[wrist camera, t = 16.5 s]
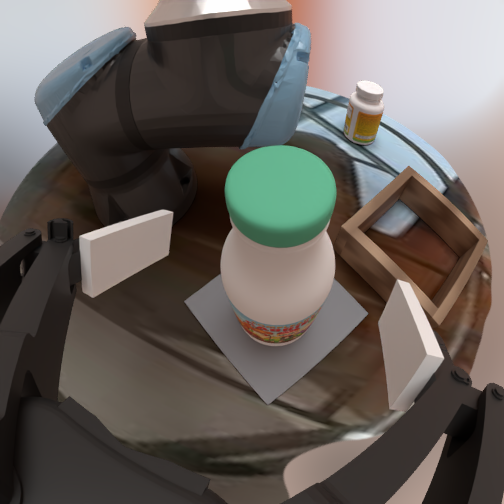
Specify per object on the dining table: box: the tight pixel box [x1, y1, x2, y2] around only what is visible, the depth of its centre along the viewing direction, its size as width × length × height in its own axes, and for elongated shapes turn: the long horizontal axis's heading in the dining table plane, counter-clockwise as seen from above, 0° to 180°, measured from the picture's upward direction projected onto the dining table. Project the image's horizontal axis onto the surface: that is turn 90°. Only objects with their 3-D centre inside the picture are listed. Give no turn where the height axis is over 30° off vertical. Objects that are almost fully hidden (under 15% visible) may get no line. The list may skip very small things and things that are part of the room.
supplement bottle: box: [344, 81, 384, 145], centre depth 36 cm, size 5×5×10 cm
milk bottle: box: [221, 145, 336, 346], centre depth 20 cm, size 8×8×20 cm
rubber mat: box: [184, 274, 368, 405], centre depth 29 cm, size 14×14×1 cm
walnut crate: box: [333, 166, 488, 329], centre depth 29 cm, size 14×14×5 cm
